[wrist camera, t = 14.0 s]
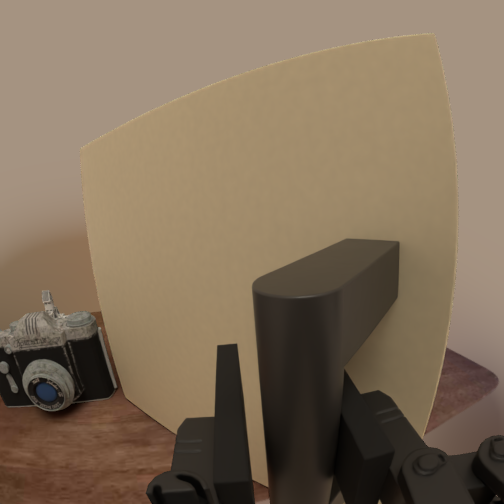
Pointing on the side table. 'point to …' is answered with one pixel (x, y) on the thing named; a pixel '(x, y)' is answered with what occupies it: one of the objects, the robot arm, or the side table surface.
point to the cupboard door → (283, 248)
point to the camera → (54, 362)
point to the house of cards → (51, 306)
